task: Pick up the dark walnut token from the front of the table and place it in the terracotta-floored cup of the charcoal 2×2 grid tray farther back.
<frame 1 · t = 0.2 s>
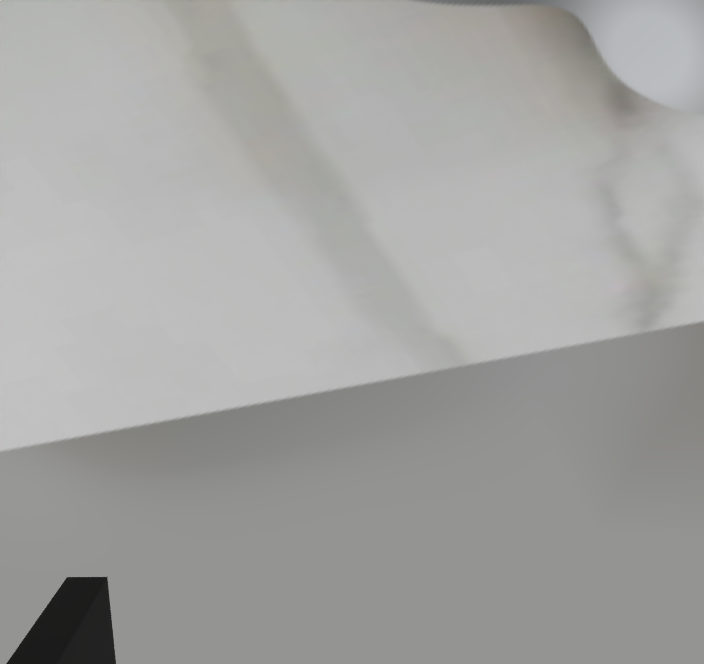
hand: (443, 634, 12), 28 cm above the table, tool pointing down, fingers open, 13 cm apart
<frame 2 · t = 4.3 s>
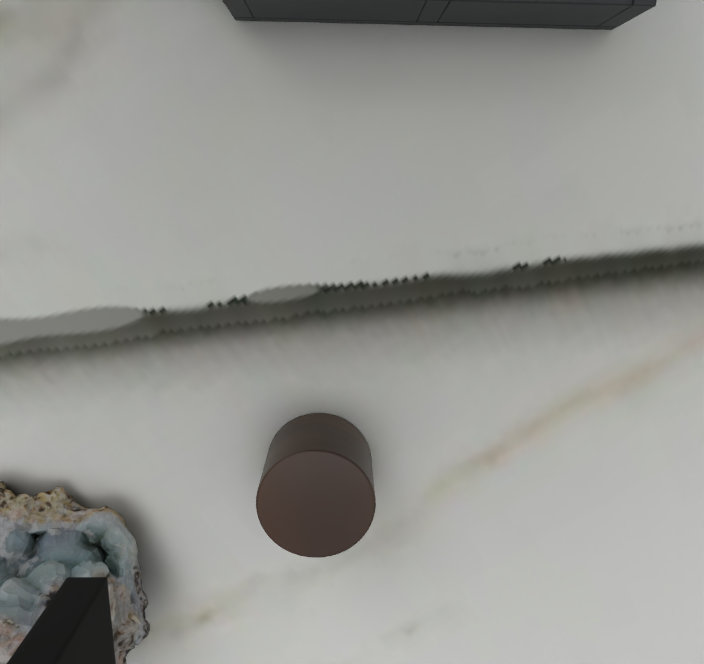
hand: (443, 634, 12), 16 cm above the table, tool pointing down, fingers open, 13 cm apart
mineral specimen: (71, 569, 30), on the table
token: (319, 461, 28), on the table
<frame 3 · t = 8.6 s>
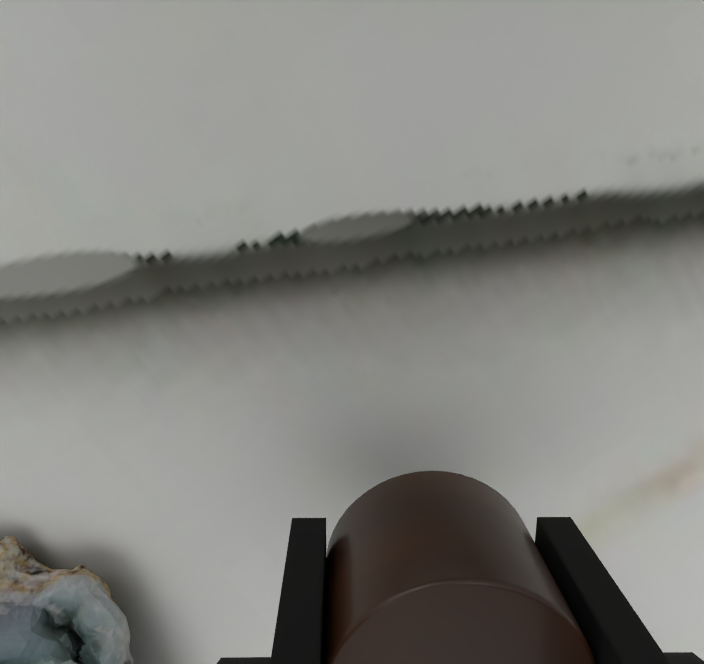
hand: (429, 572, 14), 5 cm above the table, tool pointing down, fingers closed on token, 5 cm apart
mineral specimen: (33, 658, 20), on the table
token: (428, 564, 14), point 4 cm above the table, touching gripper
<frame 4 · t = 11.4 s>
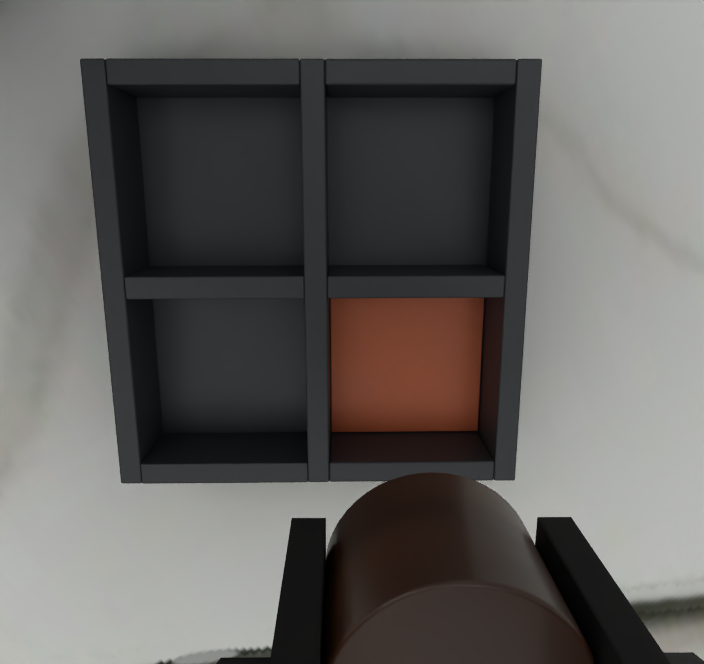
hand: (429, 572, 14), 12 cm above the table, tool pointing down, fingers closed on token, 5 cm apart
grid: (319, 273, 25), on the table
token: (428, 565, 14), point 12 cm above the table, touching gripper
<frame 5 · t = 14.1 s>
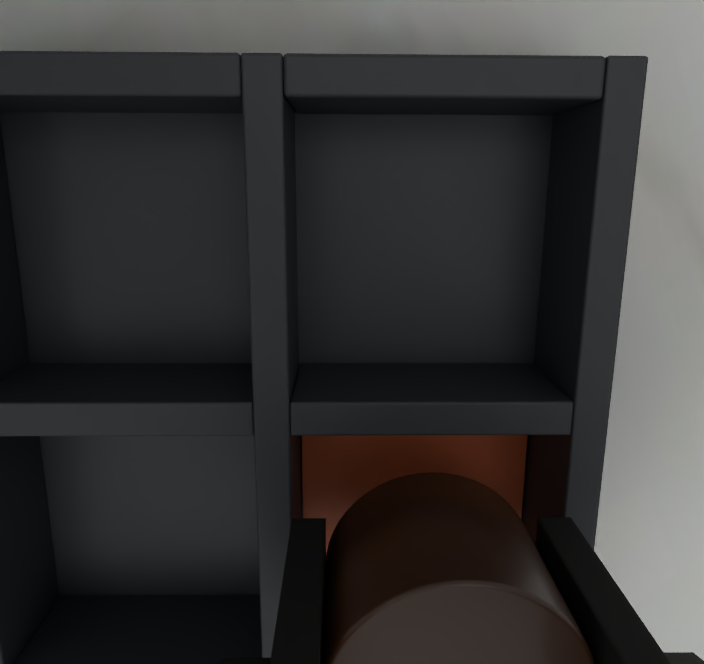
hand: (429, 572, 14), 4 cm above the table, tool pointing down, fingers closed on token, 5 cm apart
grid: (285, 371, 17), on the table
token: (428, 565, 14), point 3 cm above the table, touching gripper
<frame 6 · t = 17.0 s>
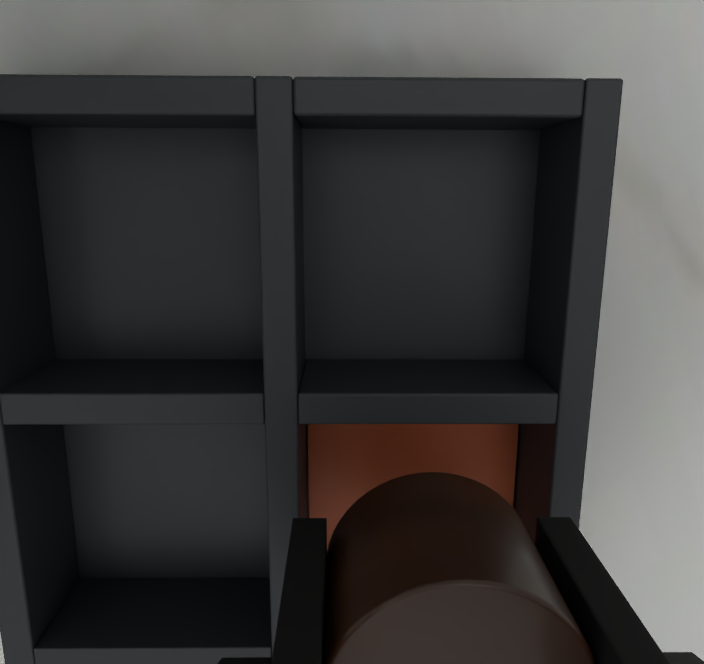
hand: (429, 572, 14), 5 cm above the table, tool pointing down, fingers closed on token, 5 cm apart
grid: (292, 367, 18), on the table
token: (428, 565, 14), point 5 cm above the table, touching gripper
when the fingers open (5 cm above the table, at t = 19.4 s): token drops 4 cm, resting on grid.
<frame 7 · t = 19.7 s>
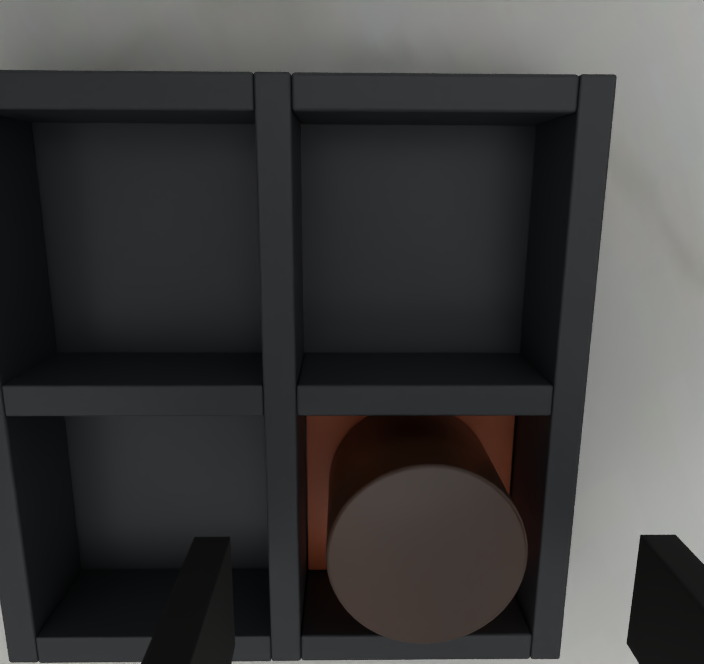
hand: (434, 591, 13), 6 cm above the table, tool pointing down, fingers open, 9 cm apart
grid: (291, 360, 18), on the table
token: (409, 479, 18), point 1 cm above the table, touching grid
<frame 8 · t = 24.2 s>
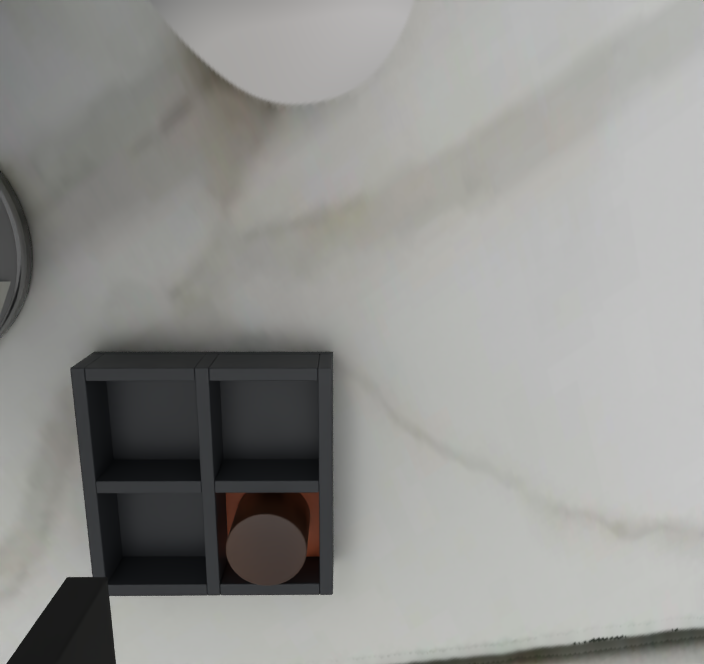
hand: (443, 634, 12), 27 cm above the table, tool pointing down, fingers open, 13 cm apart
grid: (219, 461, 40), on the table
token: (273, 515, 40), point 1 cm above the table, touching grid
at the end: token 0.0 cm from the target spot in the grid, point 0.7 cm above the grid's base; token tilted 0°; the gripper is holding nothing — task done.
